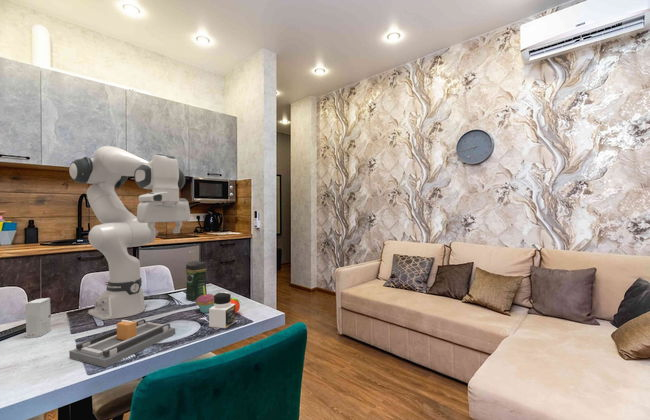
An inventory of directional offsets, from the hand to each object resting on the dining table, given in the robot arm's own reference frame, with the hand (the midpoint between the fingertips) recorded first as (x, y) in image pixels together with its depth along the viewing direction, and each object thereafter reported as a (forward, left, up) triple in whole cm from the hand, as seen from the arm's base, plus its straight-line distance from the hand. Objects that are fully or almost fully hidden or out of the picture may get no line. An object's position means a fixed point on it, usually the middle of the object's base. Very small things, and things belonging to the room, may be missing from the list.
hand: (165, 234), depth 112 cm
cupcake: (+1, +20, -35) cm, 41 cm away
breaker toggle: (0, -15, -33) cm, 36 cm away
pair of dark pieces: (0, -15, -33) cm, 36 cm away
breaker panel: (0, -15, -35) cm, 38 cm away
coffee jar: (-16, +32, -35) cm, 50 cm away
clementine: (+15, +20, -35) cm, 43 cm away
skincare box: (-38, -20, -35) cm, 56 cm away
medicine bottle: (+18, +10, -35) cm, 41 cm away
